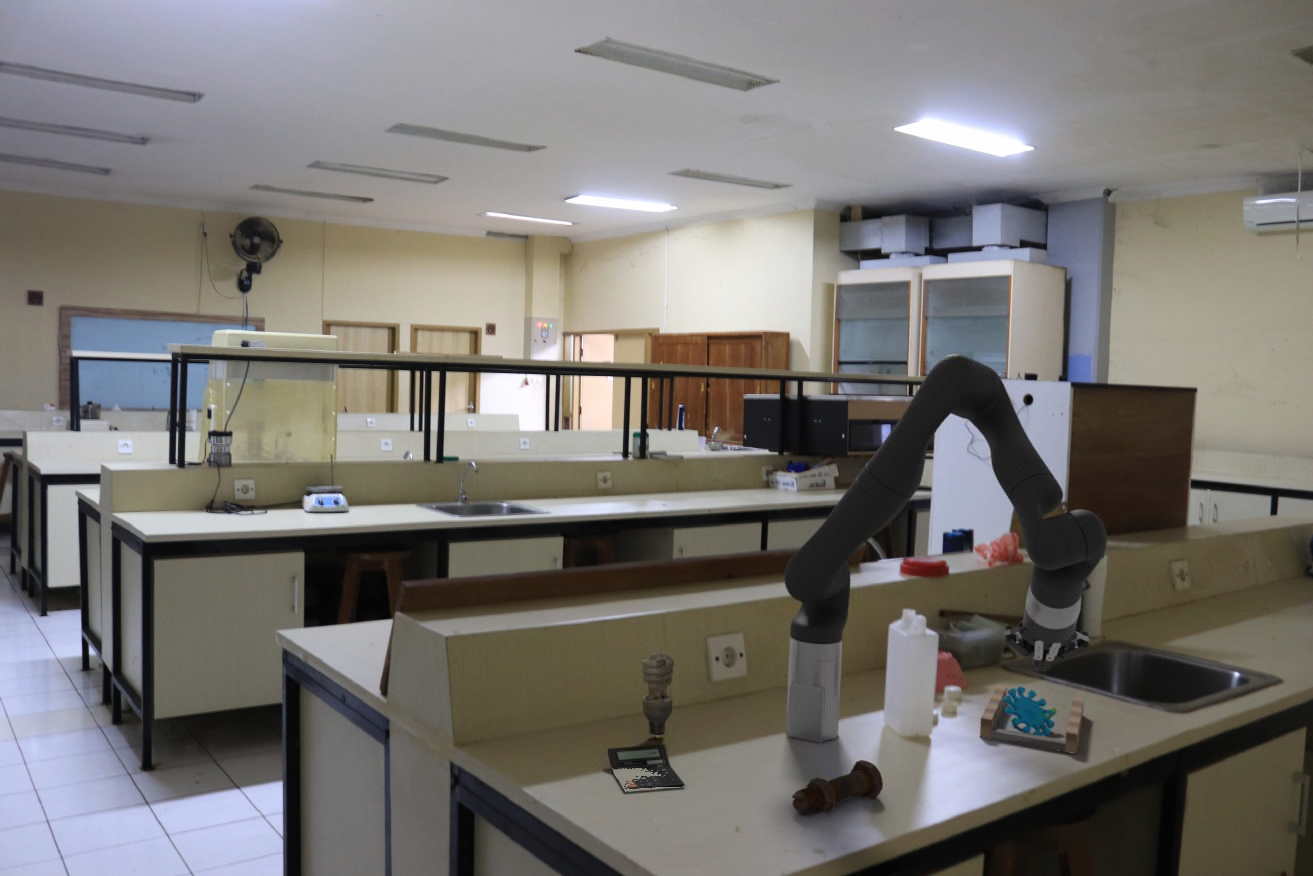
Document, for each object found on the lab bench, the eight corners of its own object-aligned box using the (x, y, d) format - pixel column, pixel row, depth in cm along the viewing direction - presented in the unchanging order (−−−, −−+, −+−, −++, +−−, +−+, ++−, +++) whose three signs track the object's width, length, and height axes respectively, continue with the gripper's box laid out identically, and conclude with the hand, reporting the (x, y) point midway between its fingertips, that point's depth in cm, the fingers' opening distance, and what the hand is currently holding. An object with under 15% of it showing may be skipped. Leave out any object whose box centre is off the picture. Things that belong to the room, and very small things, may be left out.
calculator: (624, 794, 147) (625, 775, 146) (606, 766, 158) (607, 747, 158) (684, 789, 149) (685, 770, 149) (662, 761, 160) (663, 743, 160)
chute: (1076, 754, 169) (1077, 734, 169) (979, 737, 176) (980, 718, 176) (1082, 715, 191) (1083, 697, 191) (996, 701, 198) (997, 684, 198)
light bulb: (658, 745, 166) (661, 658, 166) (633, 738, 170) (635, 652, 169) (677, 737, 171) (680, 652, 170) (652, 729, 174) (655, 646, 174)
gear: (1018, 733, 175) (1000, 682, 181) (999, 747, 179) (983, 697, 185) (1069, 737, 178) (1050, 687, 184) (1050, 751, 182) (1032, 702, 188)
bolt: (793, 826, 142) (865, 801, 150) (815, 821, 138) (888, 795, 146) (780, 785, 144) (852, 762, 152) (801, 779, 140) (874, 756, 148)
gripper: (1097, 589, 148) (1083, 650, 160) (1005, 582, 152) (997, 643, 164) (1102, 631, 143) (1086, 691, 155) (1006, 624, 147) (998, 683, 159)
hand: (1040, 666), depth 160 cm, fingers closed
